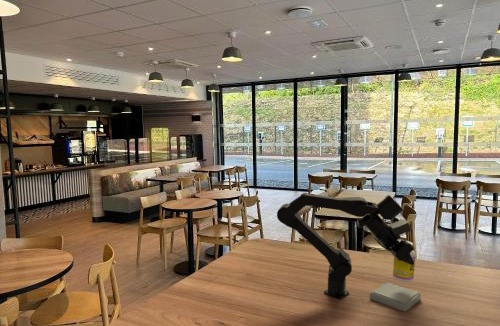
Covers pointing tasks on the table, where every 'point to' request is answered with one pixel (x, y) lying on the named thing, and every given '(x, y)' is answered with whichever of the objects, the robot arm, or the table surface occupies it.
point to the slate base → (395, 296)
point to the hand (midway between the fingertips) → (408, 260)
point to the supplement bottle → (404, 269)
